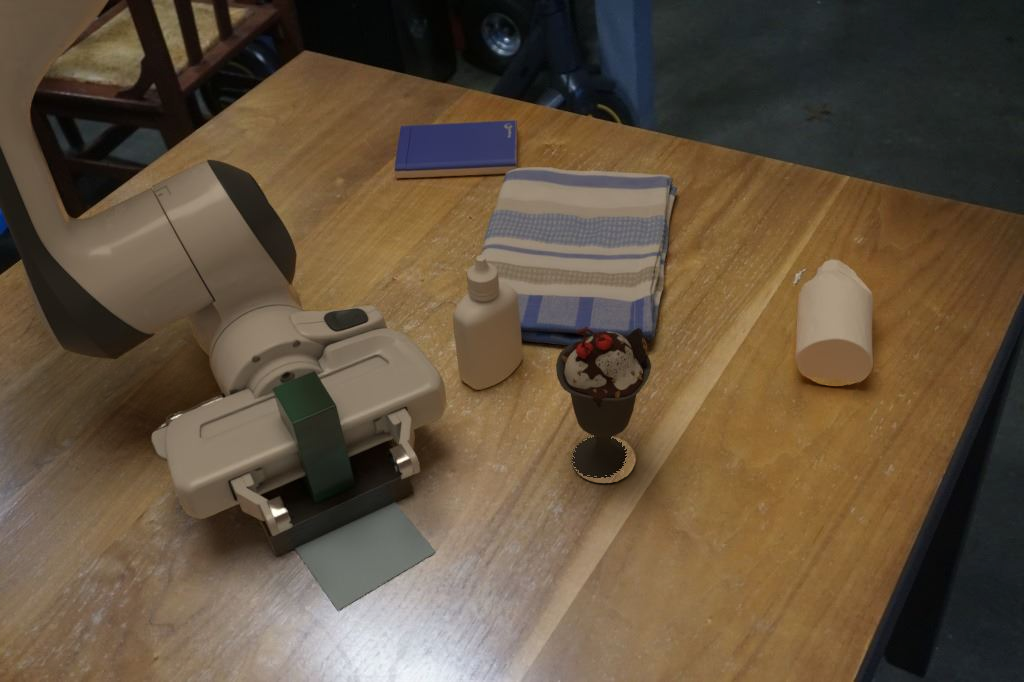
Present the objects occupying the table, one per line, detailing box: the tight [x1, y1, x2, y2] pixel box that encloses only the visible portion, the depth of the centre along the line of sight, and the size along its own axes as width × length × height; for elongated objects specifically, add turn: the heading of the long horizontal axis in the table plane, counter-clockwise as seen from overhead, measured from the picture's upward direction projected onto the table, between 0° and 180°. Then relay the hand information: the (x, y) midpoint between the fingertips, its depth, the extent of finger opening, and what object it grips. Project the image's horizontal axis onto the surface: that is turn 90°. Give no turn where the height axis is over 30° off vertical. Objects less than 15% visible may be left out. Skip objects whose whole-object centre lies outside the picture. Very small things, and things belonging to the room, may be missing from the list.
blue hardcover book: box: [394, 119, 518, 179], centre depth 115 cm, size 2×8×12 cm
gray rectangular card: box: [294, 501, 436, 612], centre depth 81 cm, size 12×8×1 cm, turn 35°
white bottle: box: [794, 258, 874, 383], centre depth 90 cm, size 6×12×6 cm, turn 167°
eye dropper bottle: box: [452, 254, 524, 391], centre depth 88 cm, size 4×6×12 cm
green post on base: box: [257, 371, 414, 557], centre depth 79 cm, size 11×6×11 cm, turn 119°
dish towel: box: [480, 166, 678, 346], centre depth 101 cm, size 17×24×3 cm
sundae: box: [555, 326, 652, 478], centre depth 79 cm, size 7×7×15 cm
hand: (347, 498), depth 75 cm, fingers open, 8 cm apart
